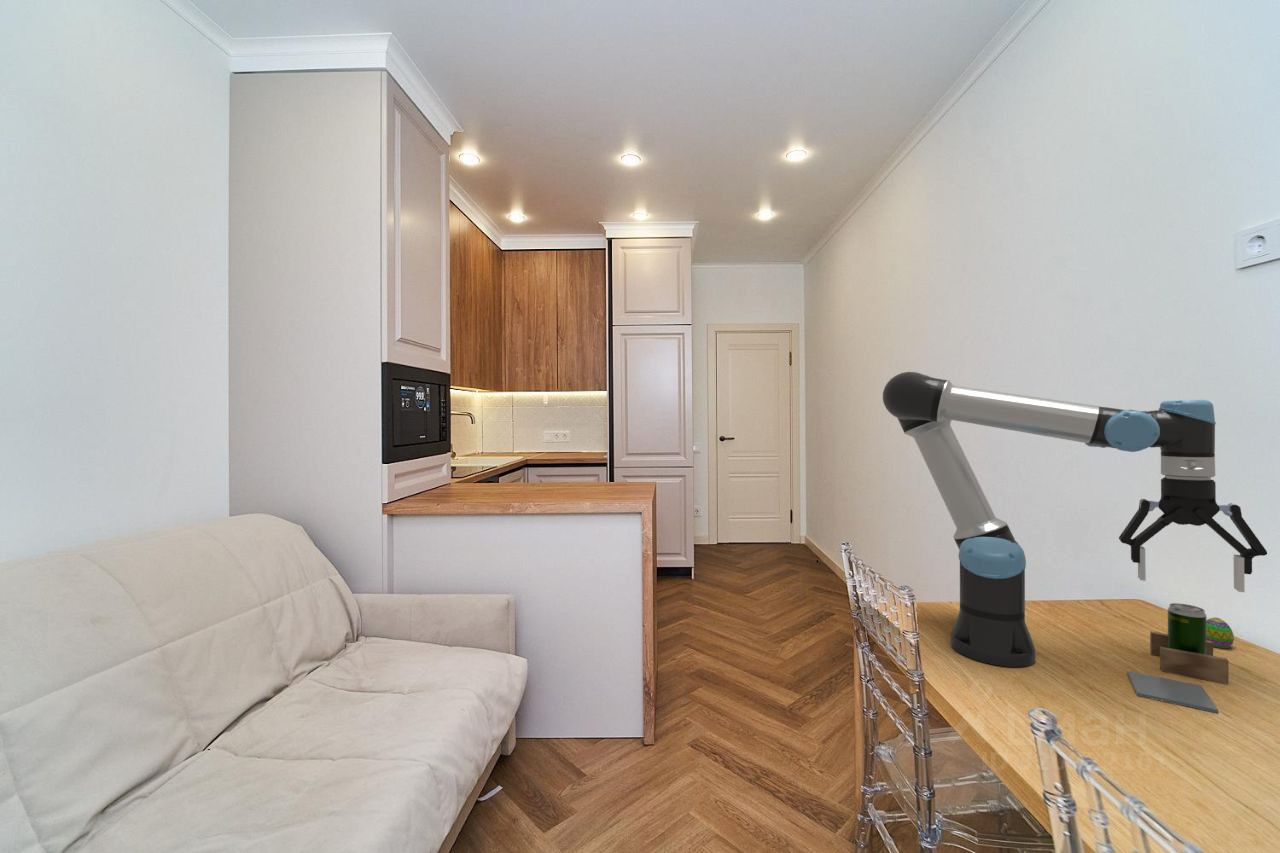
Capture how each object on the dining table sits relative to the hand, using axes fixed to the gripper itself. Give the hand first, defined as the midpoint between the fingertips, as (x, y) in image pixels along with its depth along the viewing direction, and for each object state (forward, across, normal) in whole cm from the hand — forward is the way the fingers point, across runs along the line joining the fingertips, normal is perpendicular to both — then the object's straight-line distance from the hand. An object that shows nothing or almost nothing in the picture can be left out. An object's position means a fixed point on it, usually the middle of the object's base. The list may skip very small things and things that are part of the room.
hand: (1188, 584), depth 104 cm
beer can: (+17, 0, 0) cm, 17 cm away
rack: (+17, 0, 0) cm, 17 cm away
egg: (+17, +8, +18) cm, 26 cm away
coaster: (+17, -5, -15) cm, 23 cm away
